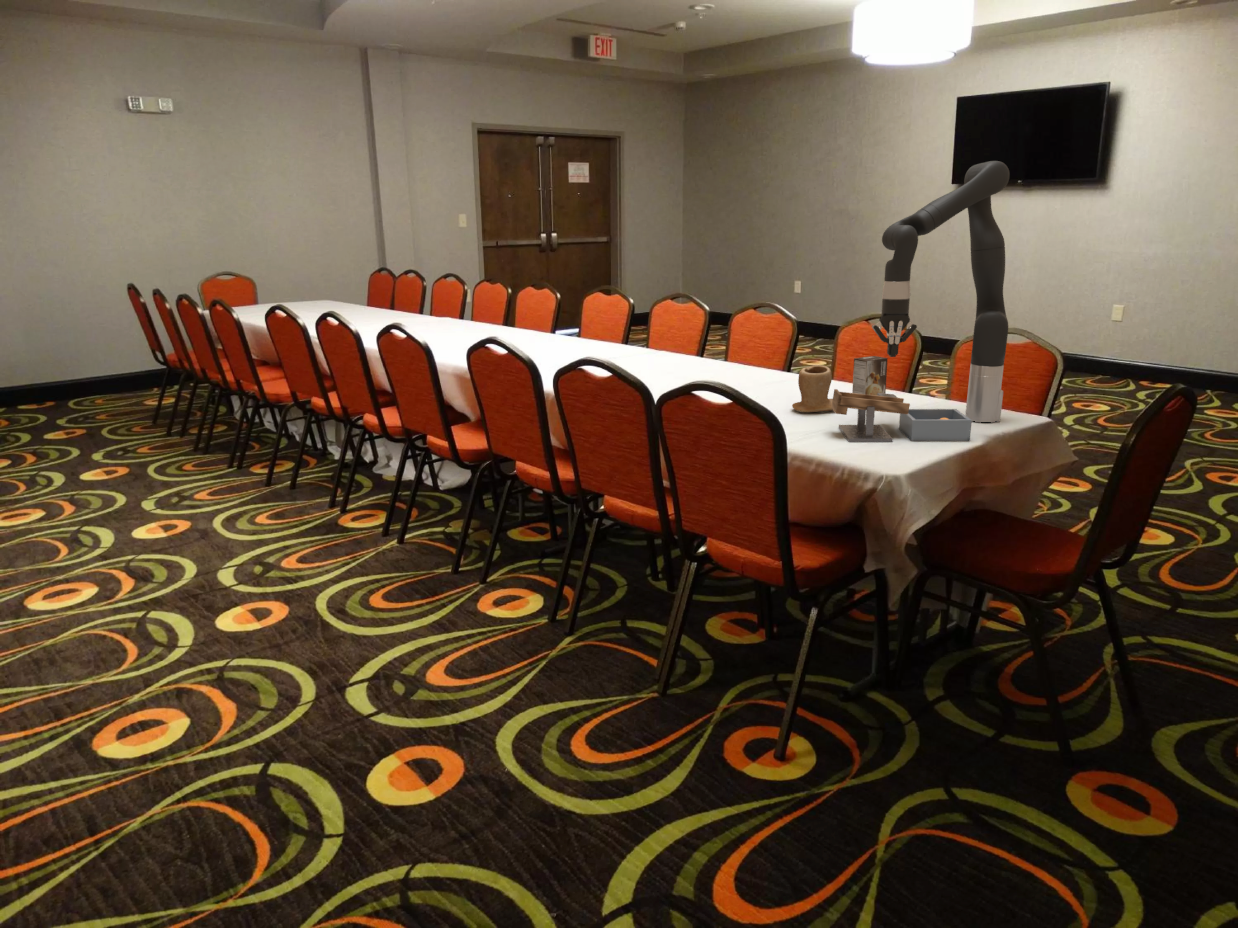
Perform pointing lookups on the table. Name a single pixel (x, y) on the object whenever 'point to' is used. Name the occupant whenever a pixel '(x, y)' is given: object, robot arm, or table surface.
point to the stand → (865, 428)
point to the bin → (935, 425)
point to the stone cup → (814, 389)
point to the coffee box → (869, 375)
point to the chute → (868, 402)
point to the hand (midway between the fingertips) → (892, 356)
